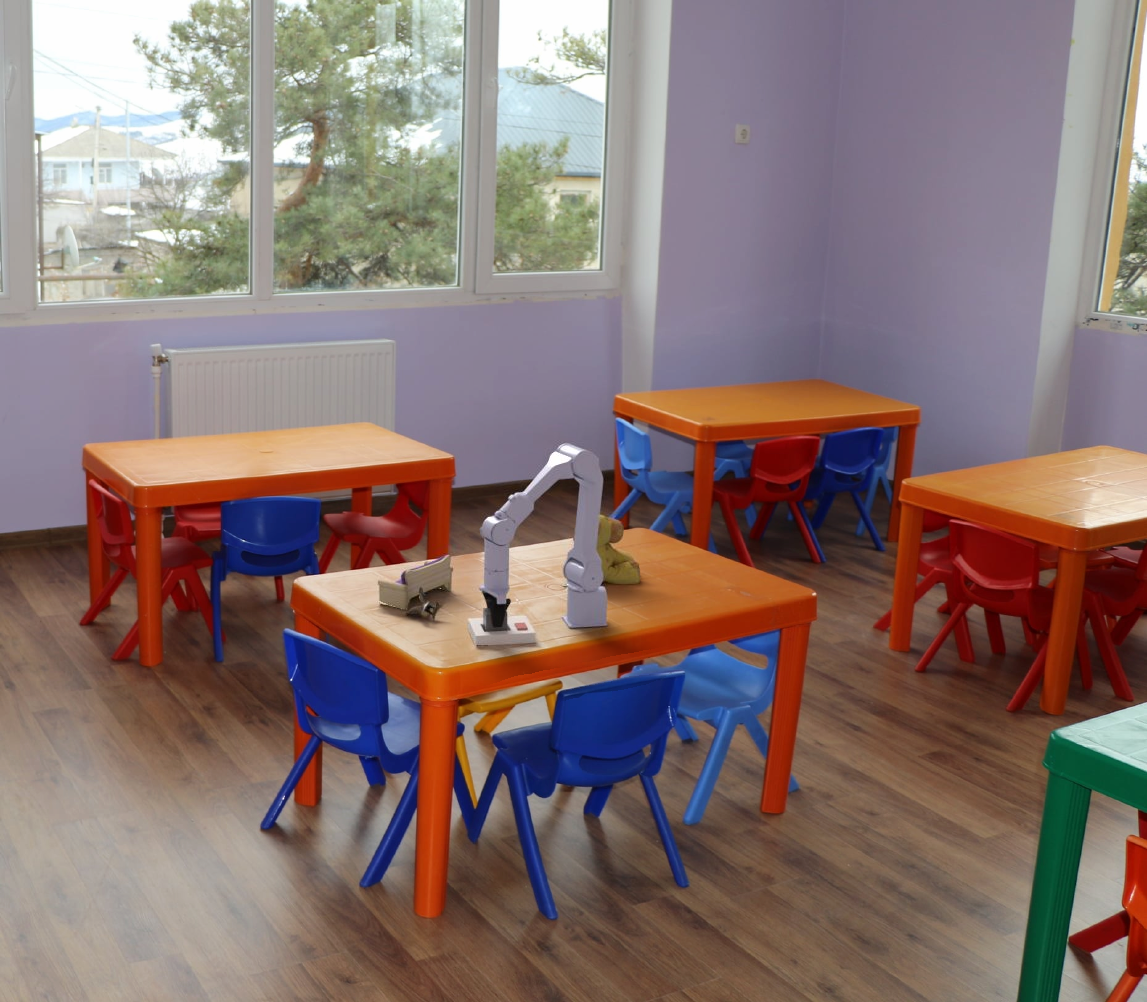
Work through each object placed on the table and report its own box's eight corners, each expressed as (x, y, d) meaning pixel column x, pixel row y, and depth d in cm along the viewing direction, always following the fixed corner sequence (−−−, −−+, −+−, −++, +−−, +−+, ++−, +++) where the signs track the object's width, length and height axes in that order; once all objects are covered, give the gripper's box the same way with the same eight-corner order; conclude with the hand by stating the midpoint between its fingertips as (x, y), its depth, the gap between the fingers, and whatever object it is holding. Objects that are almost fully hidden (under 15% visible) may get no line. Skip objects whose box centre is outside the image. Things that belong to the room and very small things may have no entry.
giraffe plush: (654, 579, 347) (657, 511, 342) (593, 597, 330) (596, 526, 325) (599, 562, 360) (602, 496, 356) (539, 579, 344) (540, 510, 339)
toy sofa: (426, 584, 337) (427, 547, 334) (453, 590, 333) (454, 553, 330) (376, 605, 319) (376, 566, 317) (404, 612, 315) (404, 572, 313)
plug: (503, 627, 301) (504, 607, 300) (507, 633, 298) (507, 612, 296) (483, 628, 300) (483, 608, 299) (485, 634, 296) (486, 613, 295)
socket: (525, 625, 308) (525, 613, 307) (535, 642, 297) (535, 630, 296) (467, 628, 305) (467, 616, 304) (475, 646, 293) (475, 633, 293)
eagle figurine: (450, 609, 314) (422, 596, 318) (443, 591, 309) (415, 578, 313) (430, 631, 310) (403, 617, 315) (423, 614, 305) (395, 600, 309)
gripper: (474, 559, 301) (473, 614, 304) (484, 578, 287) (484, 635, 291) (503, 558, 303) (502, 612, 306) (515, 576, 289) (514, 633, 292)
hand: (495, 623), depth 298 cm, fingers closed on plug, 4 cm apart
